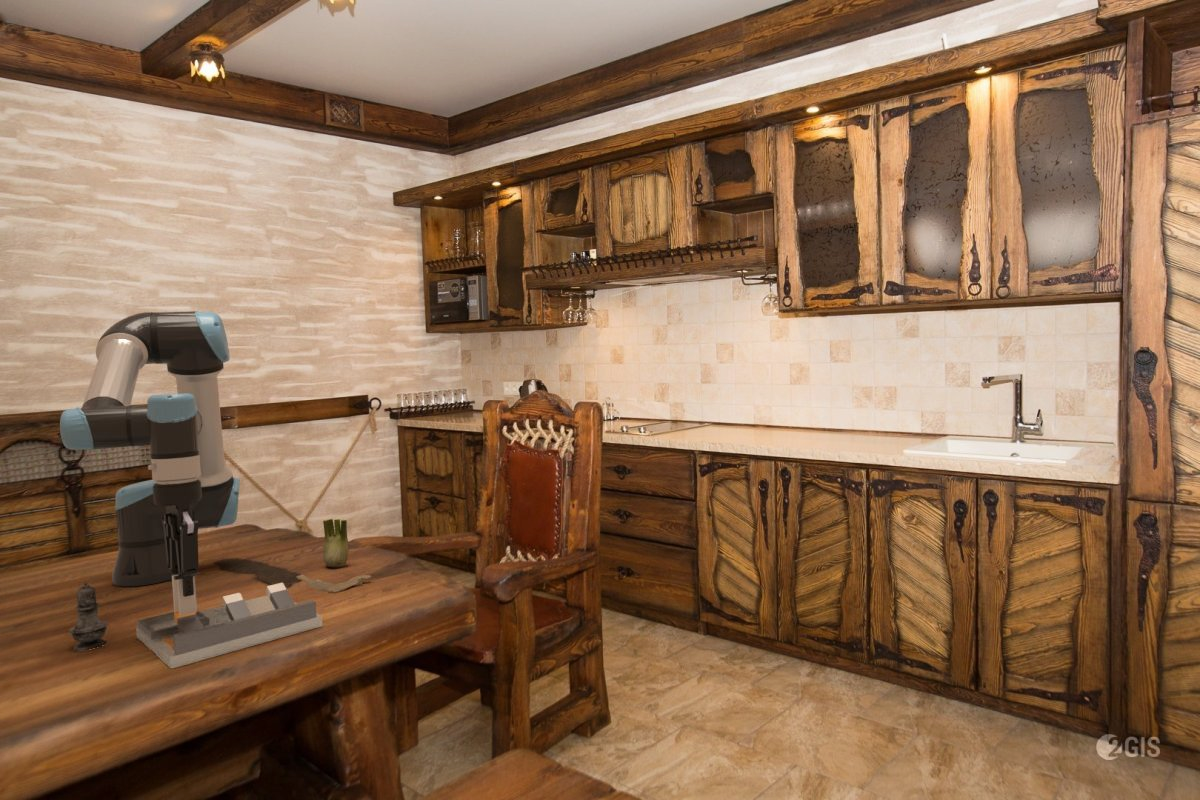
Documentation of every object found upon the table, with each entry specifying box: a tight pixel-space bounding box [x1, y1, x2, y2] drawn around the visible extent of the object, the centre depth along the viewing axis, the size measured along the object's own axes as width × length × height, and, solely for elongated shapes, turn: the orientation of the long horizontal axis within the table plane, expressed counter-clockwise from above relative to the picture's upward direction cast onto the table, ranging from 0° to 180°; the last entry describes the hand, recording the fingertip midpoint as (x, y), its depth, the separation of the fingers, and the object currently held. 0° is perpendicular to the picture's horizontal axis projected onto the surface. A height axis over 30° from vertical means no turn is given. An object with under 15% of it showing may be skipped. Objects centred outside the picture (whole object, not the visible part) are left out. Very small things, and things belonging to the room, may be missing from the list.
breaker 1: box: [221, 592, 252, 621], centre depth 140 cm, size 8×3×2 cm, turn 44°
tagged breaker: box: [173, 611, 204, 633], centre depth 135 cm, size 8×3×2 cm, turn 44°
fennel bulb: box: [322, 518, 349, 568], centre depth 187 cm, size 6×5×12 cm
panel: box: [135, 594, 323, 670], centre depth 144 cm, size 22×26×5 cm
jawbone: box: [295, 574, 372, 594], centre depth 172 cm, size 9×20×2 cm, turn 72°
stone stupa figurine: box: [69, 581, 109, 652], centre depth 139 cm, size 6×6×12 cm
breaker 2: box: [265, 582, 296, 610], centre depth 145 cm, size 8×3×2 cm, turn 44°
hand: (185, 611), depth 136 cm, fingers open, 2 cm apart
